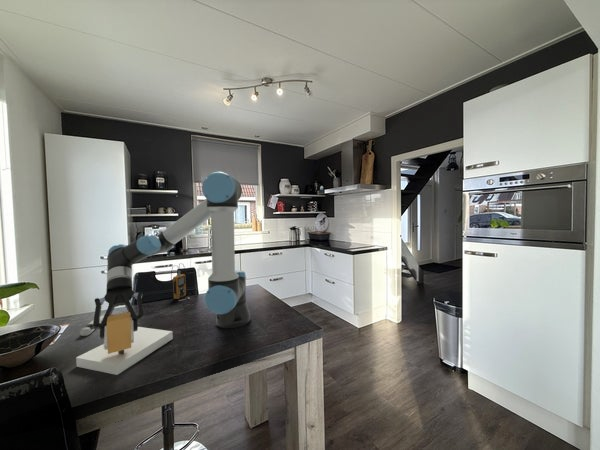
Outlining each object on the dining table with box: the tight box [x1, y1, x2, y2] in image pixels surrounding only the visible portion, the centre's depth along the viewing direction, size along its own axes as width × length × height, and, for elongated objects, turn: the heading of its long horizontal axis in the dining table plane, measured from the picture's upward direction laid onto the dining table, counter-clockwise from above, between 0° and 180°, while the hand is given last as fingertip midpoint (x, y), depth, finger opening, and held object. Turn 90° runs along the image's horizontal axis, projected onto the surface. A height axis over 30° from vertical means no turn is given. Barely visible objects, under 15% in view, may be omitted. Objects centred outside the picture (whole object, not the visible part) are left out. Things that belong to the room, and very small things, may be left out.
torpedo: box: [79, 313, 105, 337], centre depth 105 cm, size 18×5×7 cm, turn 18°
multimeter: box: [170, 263, 192, 303], centre depth 142 cm, size 15×10×20 cm
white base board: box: [75, 326, 174, 376], centre depth 86 cm, size 17×22×9 cm
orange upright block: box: [107, 311, 132, 354], centre depth 79 cm, size 6×6×10 cm
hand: (119, 344), depth 76 cm, fingers closed on orange upright block, 6 cm apart
